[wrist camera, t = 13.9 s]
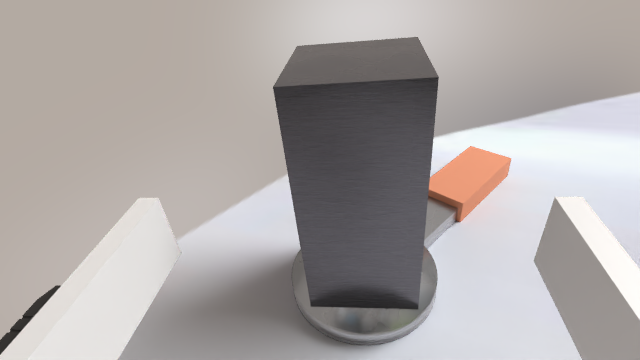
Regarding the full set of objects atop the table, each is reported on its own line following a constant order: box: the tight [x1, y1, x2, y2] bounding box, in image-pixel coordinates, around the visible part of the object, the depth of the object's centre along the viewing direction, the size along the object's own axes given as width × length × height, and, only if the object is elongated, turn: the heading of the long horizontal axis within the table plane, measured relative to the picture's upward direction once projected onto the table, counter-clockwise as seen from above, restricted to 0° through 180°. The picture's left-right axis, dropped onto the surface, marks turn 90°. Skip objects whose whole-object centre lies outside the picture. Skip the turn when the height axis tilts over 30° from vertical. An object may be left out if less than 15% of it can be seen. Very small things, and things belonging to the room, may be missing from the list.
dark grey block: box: [273, 37, 439, 309], centre depth 19 cm, size 6×6×13 cm
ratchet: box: [292, 146, 511, 345], centre depth 26 cm, size 22×9×4 cm, turn 134°
